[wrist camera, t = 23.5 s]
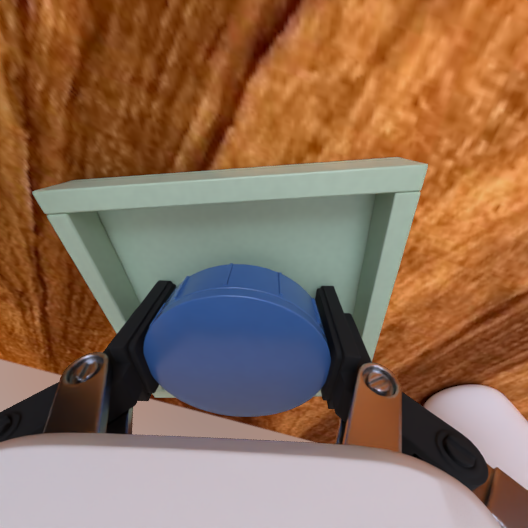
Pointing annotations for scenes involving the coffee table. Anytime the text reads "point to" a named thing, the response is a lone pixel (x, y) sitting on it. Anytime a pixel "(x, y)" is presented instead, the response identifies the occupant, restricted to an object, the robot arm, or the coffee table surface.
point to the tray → (243, 230)
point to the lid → (239, 342)
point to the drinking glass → (487, 425)
